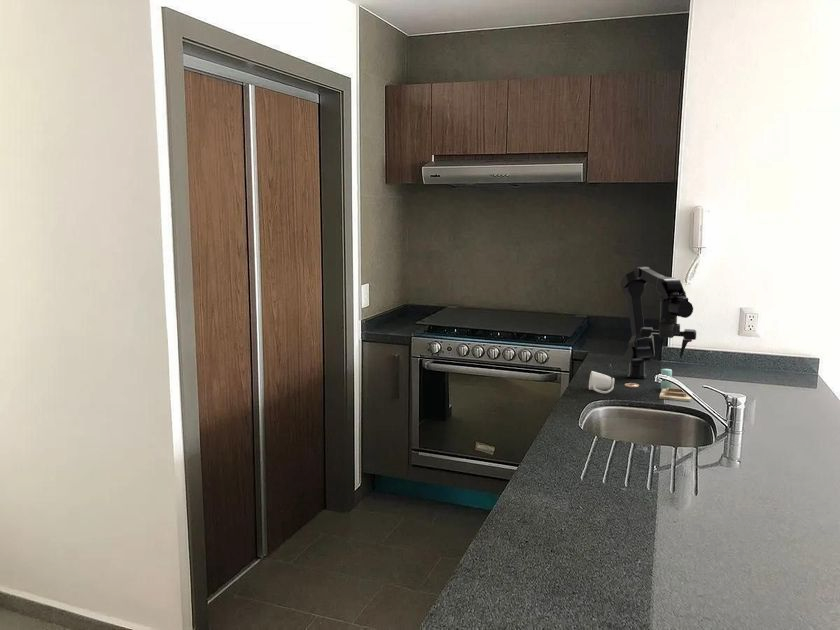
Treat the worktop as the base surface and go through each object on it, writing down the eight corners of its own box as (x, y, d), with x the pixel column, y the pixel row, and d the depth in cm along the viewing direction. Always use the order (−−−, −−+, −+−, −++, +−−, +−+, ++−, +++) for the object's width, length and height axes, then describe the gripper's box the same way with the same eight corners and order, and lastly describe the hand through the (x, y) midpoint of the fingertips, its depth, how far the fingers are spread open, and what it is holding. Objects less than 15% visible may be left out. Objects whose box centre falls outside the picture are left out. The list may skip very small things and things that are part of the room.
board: (662, 390, 251) (662, 385, 251) (692, 393, 247) (692, 388, 247) (659, 398, 240) (659, 393, 240) (690, 401, 236) (690, 396, 236)
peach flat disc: (625, 383, 262) (625, 382, 262) (639, 384, 260) (639, 383, 260) (623, 386, 257) (623, 385, 257) (637, 387, 255) (637, 386, 255)
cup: (614, 370, 254) (592, 366, 255) (616, 385, 245) (592, 382, 246) (610, 386, 257) (588, 382, 258) (612, 402, 249) (588, 398, 250)
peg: (661, 387, 255) (661, 368, 254) (671, 388, 254) (672, 369, 253) (660, 389, 252) (660, 370, 251) (670, 390, 251) (671, 371, 250)
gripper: (638, 315, 246) (637, 359, 248) (695, 318, 238) (693, 363, 240) (642, 311, 256) (640, 353, 258) (697, 313, 248) (695, 357, 251)
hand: (667, 357), depth 252 cm, fingers open, 9 cm apart
